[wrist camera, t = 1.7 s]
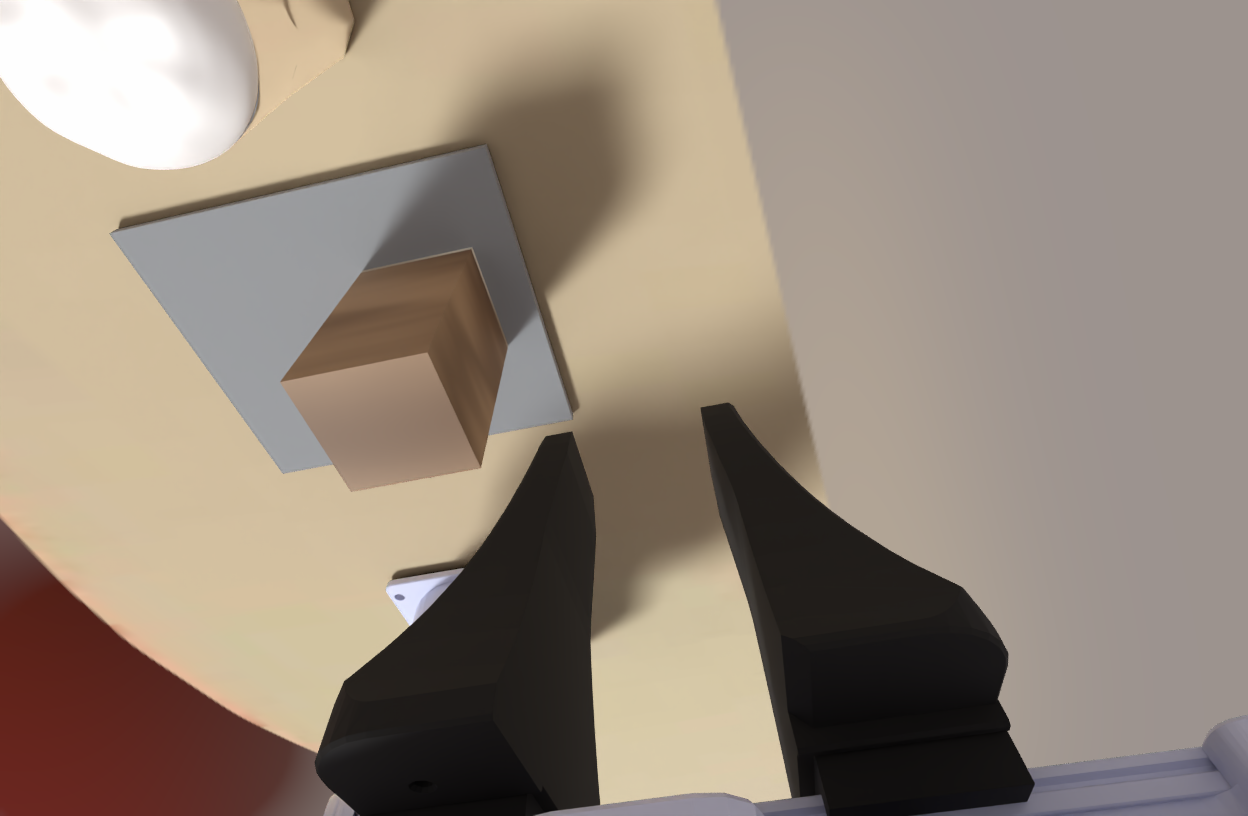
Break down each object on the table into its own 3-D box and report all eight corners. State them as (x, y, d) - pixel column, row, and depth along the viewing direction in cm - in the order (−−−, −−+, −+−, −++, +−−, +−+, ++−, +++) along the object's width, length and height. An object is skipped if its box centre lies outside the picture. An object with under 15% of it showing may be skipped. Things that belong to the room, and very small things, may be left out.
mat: (572, 413, 26) (572, 419, 26) (286, 467, 27) (282, 473, 27) (486, 143, 20) (485, 146, 19) (116, 229, 21) (109, 233, 20)
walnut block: (508, 345, 24) (480, 468, 18) (408, 365, 24) (351, 491, 18) (472, 247, 21) (427, 352, 16) (362, 270, 22) (279, 381, 16)
